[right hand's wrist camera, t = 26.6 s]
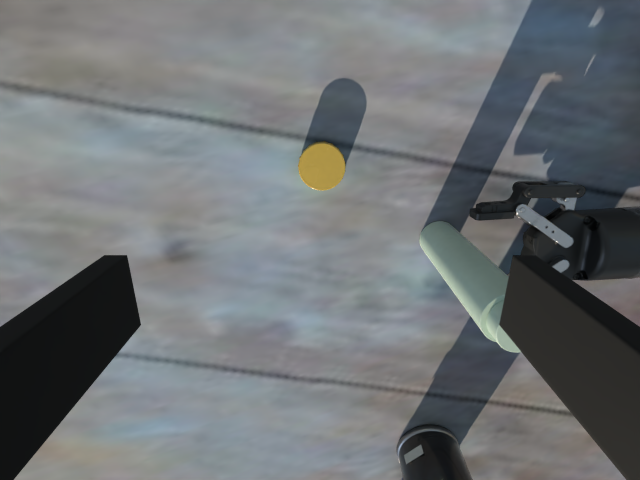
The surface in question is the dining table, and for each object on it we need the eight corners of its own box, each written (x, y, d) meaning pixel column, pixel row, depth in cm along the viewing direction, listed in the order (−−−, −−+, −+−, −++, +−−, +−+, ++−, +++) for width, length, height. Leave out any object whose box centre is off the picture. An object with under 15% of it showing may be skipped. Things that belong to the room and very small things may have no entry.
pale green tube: (459, 248, 44) (557, 348, 26) (424, 259, 45) (495, 364, 27) (452, 216, 43) (549, 296, 25) (415, 227, 44) (485, 315, 25)
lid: (293, 146, 40) (292, 148, 38) (339, 136, 40) (340, 137, 38) (304, 191, 42) (304, 195, 40) (348, 181, 42) (350, 185, 40)
